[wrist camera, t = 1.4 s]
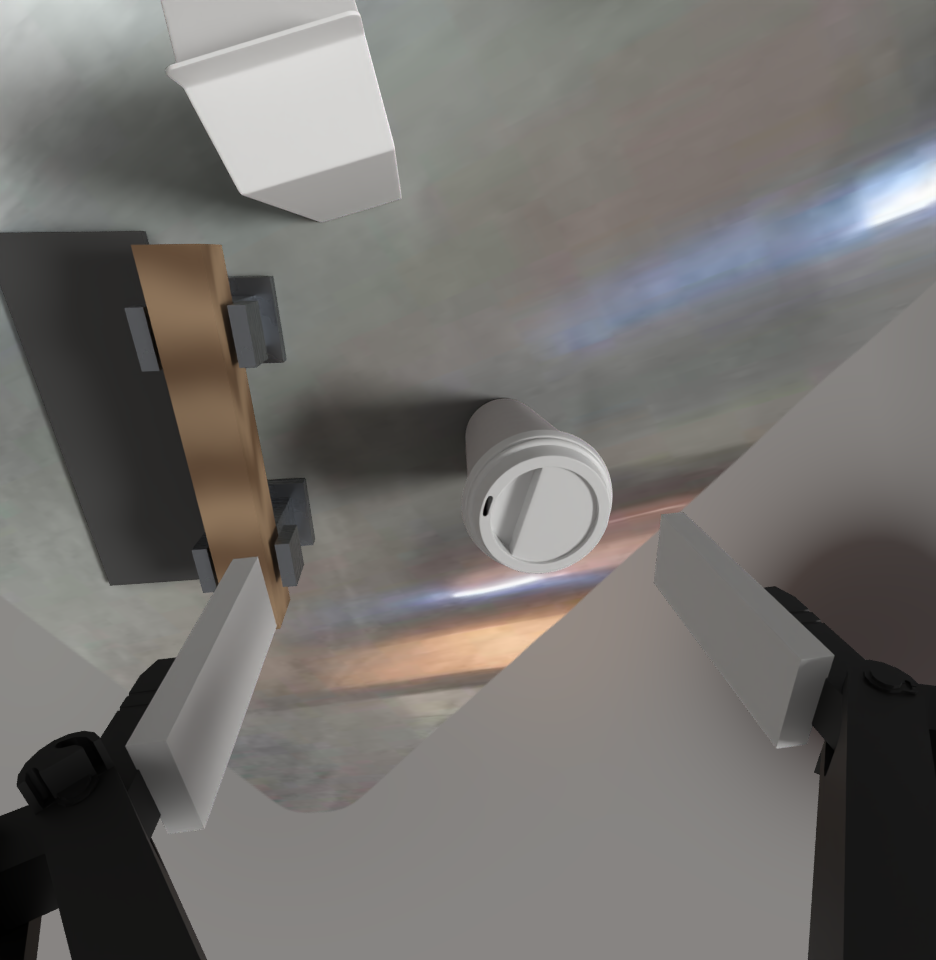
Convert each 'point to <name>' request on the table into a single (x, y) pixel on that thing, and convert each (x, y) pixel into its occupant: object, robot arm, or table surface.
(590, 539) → the coffee cup
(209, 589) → the post
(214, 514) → the rail
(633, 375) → the table surface
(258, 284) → the post
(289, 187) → the milk
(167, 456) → the mat
